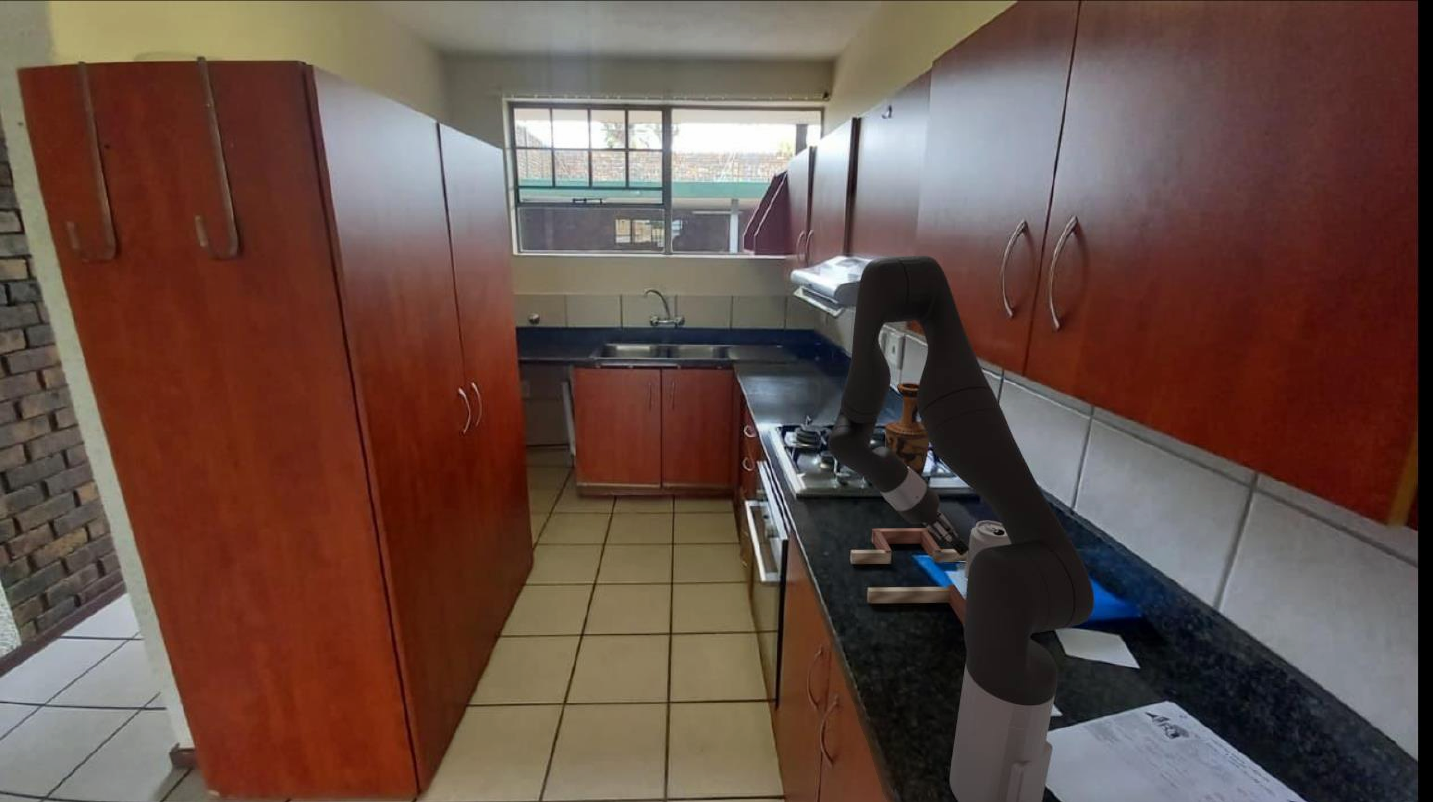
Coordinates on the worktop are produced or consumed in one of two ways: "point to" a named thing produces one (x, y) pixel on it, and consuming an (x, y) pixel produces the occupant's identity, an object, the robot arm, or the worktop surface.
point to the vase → (908, 432)
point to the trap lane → (910, 593)
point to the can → (985, 539)
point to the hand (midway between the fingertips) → (963, 550)
